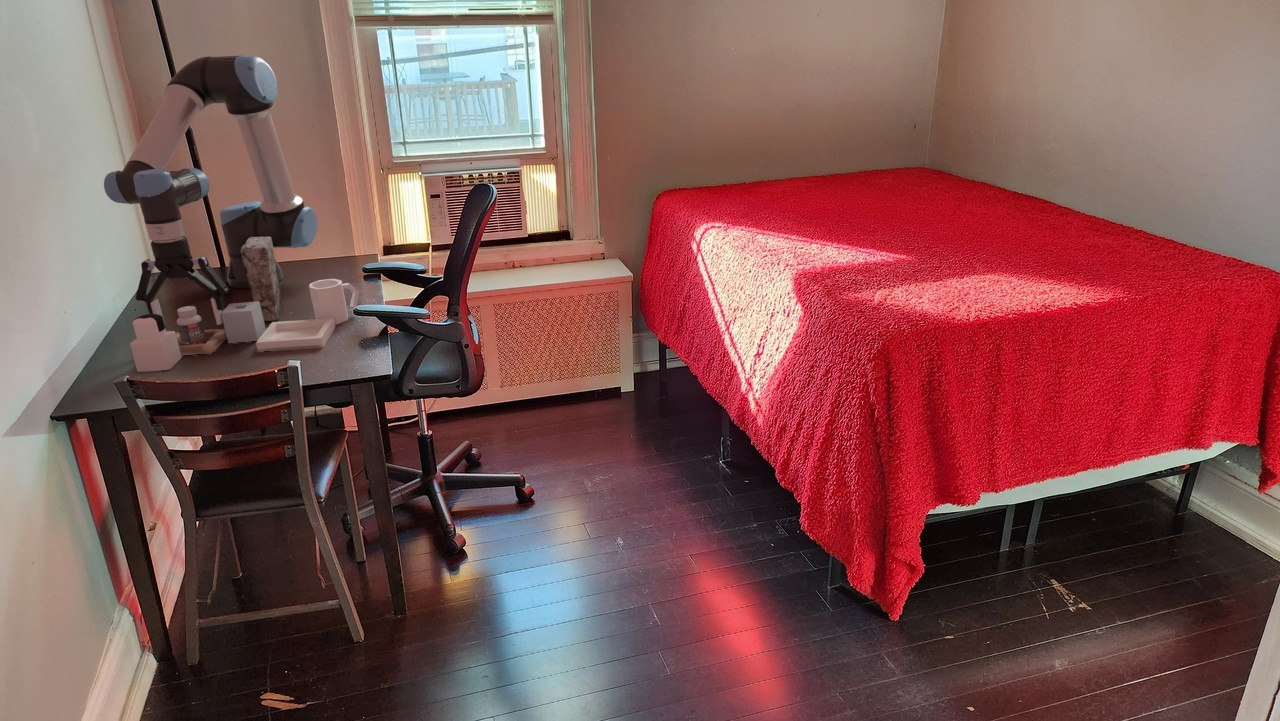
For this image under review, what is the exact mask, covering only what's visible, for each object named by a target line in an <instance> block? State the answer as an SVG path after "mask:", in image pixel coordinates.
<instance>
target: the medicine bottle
mask: <svg viewBox="0 0 1280 721" xmlns="http://www.w3.org/2000/svg"><path fill="white" fill-rule="evenodd" d="M163 318H164V316H163V317H162V316H161V315H158V314H149V313H148V314H144V315H140V316H137V317H136V318H134V319H133V321H132V326H133V330H134V333H135V336H136V338H135V339H133V340H132V341H131V342H130V343H129V347H130V351H131V354H132V358H133V361H134V364H135V367H136V371H137V373H144V372H145V373H148V372H149V373H150V372H162V371H161V370H169V369H170V370H172V369H173V368H174V367H175V366H176V365H177V364H178V363H179V362H180V361H181V360H182V359H183V356H181V352H180V349H179V345H178V341H177V337H176V334H175V333H176V331H174V330H167V329H166V323H165V324H164V322H165V319H164V320H163ZM181 358H182V359H181ZM180 359H181V360H180ZM179 360H180V361H179ZM178 361H179V362H178ZM177 362H178V363H177ZM176 363H177V364H176ZM175 364H176V365H175ZM174 365H175V366H174ZM170 370H169V371H170Z"/></svg>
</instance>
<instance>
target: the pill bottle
mask: <svg viewBox="0 0 1280 721" xmlns="http://www.w3.org/2000/svg"><path fill="white" fill-rule="evenodd" d="M197 311H198V310H197V307H196V306H195V305H187V306H183V307H180V308H179V307H178V309H177V310H176V313H177V316H178V318H177V320H176V325H177V330H178V332H179V333H180V337H181V341H182V345H195V344H206V343H207V341H208V340H207V339H206V335H205V331H204V330H205V327H204V326H205V325H204V324H203V319H202V316H201V315H199V314H197Z"/></svg>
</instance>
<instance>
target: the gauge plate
mask: <svg viewBox="0 0 1280 721" xmlns="http://www.w3.org/2000/svg"><path fill="white" fill-rule="evenodd" d="M204 331H205V335H206V339H209V340H207V343H206V344H195V345H180V344H182V341H181V337H180V333H179V331H176V332H175V334H176V337H177V341H178V345H179V349H180V352H181V355H183V354H197V353H213V352H214V351H215V349H216V348H217V347H219V346H220V344H221V343H222V342H223V341H224V340H225V339H226V338H227V335H226V331H225V328H214V329H212V328H211V329H204ZM226 340H227V339H226ZM226 340H225V341H226ZM220 347H221V346H220ZM220 347H219V348H220ZM215 352H216V351H215Z"/></svg>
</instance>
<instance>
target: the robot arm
mask: <svg viewBox="0 0 1280 721" xmlns="http://www.w3.org/2000/svg"><path fill="white" fill-rule="evenodd" d="M278 88H279V87H278V81H277V77H276V74H275V73H274V71H273V69H272V67H271V66H270V65H269V64H268V63H267V62H266V60H264V59H263V58H261V57H260V56H254V55H243V54H242V55H241V54H240V55H227V56H226V55H223V56H202V57H199V58H196V59H193V60H192V61H190V62H189V63H186V64H185V65H184V66H183V67H182V68H180V70H178V71H177V72H176V73H175V74H174V76H173V77H172V78H171V79H170V81H169V82H168V83H167V84H166V87H165V88H164V90H163V96H164V99H163V101H162V103H161V104H160V106H159V107H158V109H157V111H156V113H155V115H154V116H153V118H152V119H151V121H150V123H149V125H148V126H147V128H146V130H145V132H144V134H143V135H142V136H141V139H140V140H139V141H138V142H137V145H136V147H135V148H134V150H133V152H132V153H131V155H130V157H129V159H128V160H127V163H126V164H125V166H124V167H123V169H122V170H116V171H110V172H109V173H107V174H106V175H105V177H104V179H103V180H104V181H103V188H104V192H105V194H106V196H107V197H108V198H109V199H110V200H111V201H113V202H115V203H116V204H117V203H118V204H125V205H126V204H128V205H133V204H134V205H135V204H139V205H140V206H139V207H140V209H141V212H142V216H143V222H144V224H145V229H146V231H147V235H148V239H149V240H150V241H151V242H150V247H151V250H152V255H153V258H154V260H151V259H149V258H147V259H145V260H143V261H142V262H141V263H140V267H141V276H140V277H139V278H140V280H139V282H138V287H137V291H136V295H135V300H136V301H138V302H140V301H141V302H145V303H146V304H145V305H146V307H147V310H148V314H158V315H161V316H162V317H163V320H164V324H165V325H166V323H165V319H164V315H163V311H162V308H161V305H160V301H159V298H156V296H157V294H158V293H159V291H160V289H161V288H162V286H163V284H164V283H165V281H166V280H167V278H168V279H170V280H173V279H176V278H178V279H185V278H187V279H189V280H191V281H193V282H194V283H195V284H196V285H198V286H199V287H200V288H201V289H202V290H204V291H205V292H207V293H208V294H209V295H211V296H212V297H211V298H210V302H211V306H212V310H213V314H214V318H215V322H216V325H218V326H219V325H221V324H223V320H222V316H221V312H222V311H223V310H224V309H225V303H224V300H223V296H225V295H227V293H228V292H229V291H230V288H229V287H231V288H235V289H251V288H250V285H249V281H248V278H247V275H246V271H245V268H244V264H243V260H242V256H241V248H242V246H243V245H245V243H246V241H247V240H248V238H250V237H271V239H272V244H273V249H275V248H278V249H280V248H281V249H282V248H283V249H284V248H285V249H287V248H289V249H290V248H292V249H298V248H307V247H309V246H311V244H313V242H314V240H315V239H316V236H317V231H318V217H317V214H316V211H315V210H314V209H313V208H312V207H310V206H305V203H304V200H303V197H302V196H300V195H299V194H296V193H295V189H294V187H293V183H292V179H291V176H290V172H289V169H288V166H287V163H286V160H285V157H284V153H283V151H282V150H283V149H282V147H281V144H280V140H279V137H278V133H277V130H276V127H275V123H274V120H273V117H272V114H271V112H272V110H273V108H274V106H275V104H274V101H276V100H277V97H278V93H279V91H278ZM213 104H224V105H225V107H226V110H227V113H228V114H229V115H230V116H232V117H234V118H235V119H236V120H237V124H238V127H239V130H240V133H241V135H242V139H243V142H244V145H245V148H246V151H247V154H248V157H249V161H250V164H251V165H252V169H253V173H254V175H255V178H256V181H257V184H258V188H259V190H260V193H261V197H262V199H263V201H262V202H261V201H259V200H252V201H246V202H243V203H242V202H241V203H236V204H233V205H230V206H227V207H225V208H223V209H222V210H220V212H219V218H220V226H221V228H222V233H223V237H224V243H225V245H226V249H227V254H228V259H229V260H228V269H227V277H226V278H227V283H228V286H227V285H226V283H225V282H224V281H223V279H222V278H221V277H220V276H219V274H218V273H217V272H216V271H215V269H213V267H212V266H211V265H210V263H209V260H208V258H207V256H206V255H202V256H200V257H196V258H193V256H192V254H191V249H190V245H189V242H188V238H187V237H186V234H187V233H186V229H185V226H184V223H183V219H182V214H181V211H180V208H181V207H184V206H186V205H188V204H192V203H194V202H198V201H200V200H201V199H203V198H204V197H207V195H208V193H209V192H210V188H211V187H210V186H211V185H210V181H209V178H208V176H207V175H206V174H205V173H204V172H203V171H202V170H200V169H198V168H196V167H188V168H184V167H183V168H182V169H180V170H168V169H166V168H167V167H168V165H169V163H170V161H171V160H172V158H173V156H174V154H175V152H176V150H177V149H178V147H179V145H180V143H181V141H182V140H183V138H184V136H185V134H186V133H187V131H188V129H189V127H190V126H191V123H192V122H193V121H194V118H195V117H196V116H198V115H200V114H202V113H203V111H204V110H205V108H206V107H207V106H209V105H213ZM275 264H276V271H277V277H278V282H281V281H282V279H283V278H284V275H283V270H282V268H281V267H280V265H279V263H278V261H277V259H275ZM194 265H196V266H197V267H198V268H199V269H200V270H201V272H203V274H204V276H206V277H204V276H203V275H202V274H201V273H199V271H198V270H197V269H196V268H195V267H194ZM155 268H156V269H157V270H158V271H159V272H160V273H159V274H158V276H157V278H156V280H155V281H154V283H153V285H152V286H151V288H150V290H149V291H148V286H149V283H150V279H151V276H152V272H153V270H154V269H155ZM147 292H148V293H147ZM155 298H156V299H155Z"/></svg>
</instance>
